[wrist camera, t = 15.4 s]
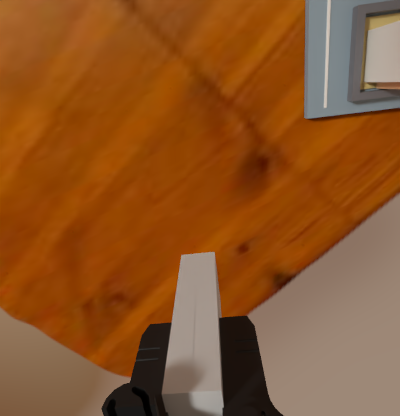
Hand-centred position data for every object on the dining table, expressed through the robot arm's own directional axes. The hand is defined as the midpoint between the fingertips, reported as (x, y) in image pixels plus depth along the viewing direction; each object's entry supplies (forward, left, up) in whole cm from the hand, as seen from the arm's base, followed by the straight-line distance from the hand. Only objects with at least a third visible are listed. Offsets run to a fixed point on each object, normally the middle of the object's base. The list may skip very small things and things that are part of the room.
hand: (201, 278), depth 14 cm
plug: (-9, +21, -25) cm, 34 cm away
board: (-10, +19, -26) cm, 34 cm away
